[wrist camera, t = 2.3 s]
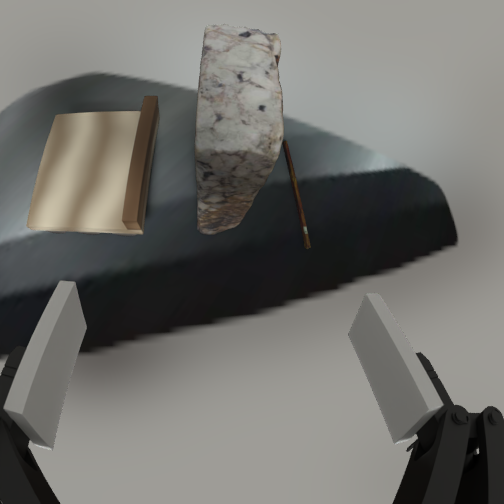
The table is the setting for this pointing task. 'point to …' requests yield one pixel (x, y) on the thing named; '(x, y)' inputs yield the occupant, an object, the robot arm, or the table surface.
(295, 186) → the dark brown thin bar
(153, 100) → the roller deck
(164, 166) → the table surface
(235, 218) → the stone block
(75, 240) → the table surface
